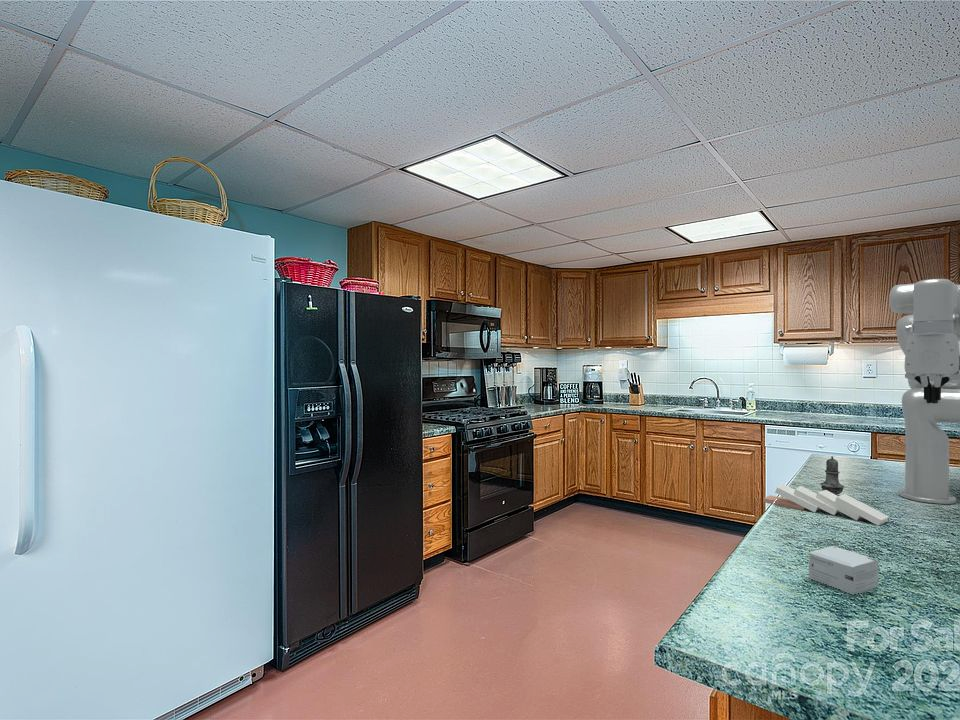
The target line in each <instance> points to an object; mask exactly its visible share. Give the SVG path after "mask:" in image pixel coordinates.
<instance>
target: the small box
mask: <svg viewBox="0 0 960 720" xmlns="http://www.w3.org/2000/svg"><path fill="white" fill-rule="evenodd" d="M808 559H809V561H808V579H809V578H810V579H809V580H811V579H813V580H812V581H815V582H817V581H818V583H820V582H821V583H820V584H823V583H824V584H823V585H825V584H827V585H826V586H828V585H829V586H828V587H830V586H832V587H831V588H833V587H834V588H833V589H835V588H837V589H836V590H838V589H840V590H842V591H841V592H843V591H844V592H843V593H845V592H847V593H846V594H848V593H850V594H853V595H854V594H856V595H859V594H862V593H865V592H868V591H871V590H874V589H876V588H875V587H877V588H878V586H879V559H877V558H874V557H870V556H867V555H863V554H861V553H859V552H857V551H856V552H855V551H851V550H848V549H844V548H841V547H838V546H835V545H831V546H827V547H824V548H820V549H817V550H811V551H809V553H808ZM873 588H874V589H873ZM870 589H871V590H870ZM840 590H839V591H840ZM867 590H868V591H867ZM864 591H865V592H864ZM861 592H862V593H861ZM858 593H859V594H858ZM850 594H849V595H850ZM853 595H852V596H853ZM854 596H855V595H854Z"/></svg>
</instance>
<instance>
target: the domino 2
mask: <svg viewBox="0 0 960 720" xmlns="http://www.w3.org/2000/svg"><path fill="white" fill-rule="evenodd" d="M794 490H795V491H794V493H793V495H795V496H797V497H799V498H801V499H803V500H805V501H807V502H809V503H811V504H813V505H815V506H817V507H819V509H821V510H823V511H824V512H825V513H828V514H831V515H833V516H836V515H837V514H839V512H840V511H838V510H837V509H835V508H833V507H831V506H829V505H827V504H826V503H824V502H822V501H820V500H818V499H816V498H815V497H816V495H817V493H818V492H817V493H816V492H814V491H812V490H811V489H808V488H807V487H804V486H803V485H800V486H798V487H797V488H795V489H794Z"/></svg>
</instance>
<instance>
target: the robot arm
mask: <svg viewBox="0 0 960 720" xmlns="http://www.w3.org/2000/svg"><path fill="white" fill-rule="evenodd" d="M888 303H889V307H890V310H891V311H892V312H893V314H907V315H904V316H903V317H901V318H899V319H898V321H897V323H896V327H895V328H896V329H895V330H896V339H897V342H898V344H899V347H900V349H901V351H902V353H903V355H904V371H905V374H904V378H905V379H907V383H908V386H909V388H910V389H908V390H906V391H905V392H904V393H903V395H902V396H901V407H902V412H903V418H904V430H905V432H904V433H905V444H904V445H905V447H904V448H905V451H904V452H905V453H904V454H905V459H904V463H905V466H904V467H905V469H904V473H905V475H904V476H905V477H904V480H905V481H904V482H905V483H904V487H905V488H902V489H899V490H898V493H897V494H898V495H899V496H900V497H902V498H905V499H907V500H911V501H917V502H921V503H929V504H938V505H940V504H941V505H949V504H950V505H951V504H956V503H957V497H955V496H954V495H951V494H950V438H949V436H948V435H947V433H946V432H945V431H944V430H943V429H942V428H941V427H940V426H939V425H937V424H939V423H941V424H942V423H946V424H947V423H951V424H960V344H959V340H960V284H956V283H954V282H953V281H952V280H950V279H947V278H929V279H924V280H919V281H916V282H915V283H906V284H905V283H903V284H902V283H901V284H895V285H894V286H893V287H892V288H891V289H890V291H889V295H888Z"/></svg>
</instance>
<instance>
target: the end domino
mask: <svg viewBox="0 0 960 720" xmlns="http://www.w3.org/2000/svg"><path fill="white" fill-rule="evenodd" d="M762 499H763V500H762V502H763V503H766V504H769V505H774V506H779V507H785V508H789V507H790V509H794V508H795V510H801V511H805V510H808V509H807V508H805V507H803V506H801V505H799V504H797V503H795V502H793V501H791V500H789V499H787V498H785V497H783V496H775V495H768V496H765V497H763V498H762ZM776 499H777V500H776ZM775 500H776V501H775ZM774 501H775V503H774V504H773V502H774Z"/></svg>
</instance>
